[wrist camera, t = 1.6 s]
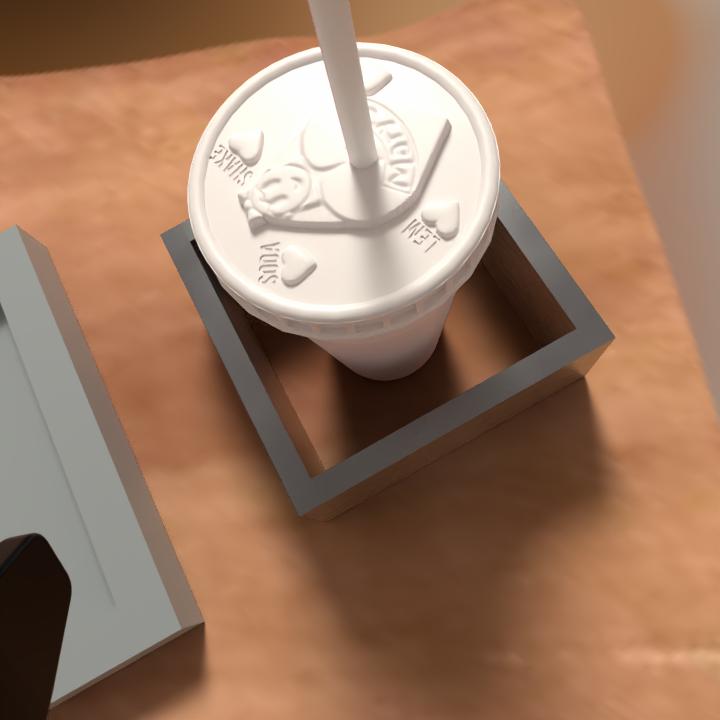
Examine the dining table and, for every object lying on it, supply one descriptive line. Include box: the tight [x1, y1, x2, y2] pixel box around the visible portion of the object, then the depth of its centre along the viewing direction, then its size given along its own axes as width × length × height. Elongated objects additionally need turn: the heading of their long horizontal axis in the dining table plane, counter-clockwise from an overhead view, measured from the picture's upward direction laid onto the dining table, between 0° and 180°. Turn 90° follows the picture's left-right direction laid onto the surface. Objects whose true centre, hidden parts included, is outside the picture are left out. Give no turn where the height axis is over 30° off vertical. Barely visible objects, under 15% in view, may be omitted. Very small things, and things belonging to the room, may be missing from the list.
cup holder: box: [160, 178, 615, 522], centre depth 20 cm, size 9×9×4 cm
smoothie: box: [187, 0, 500, 381], centre depth 15 cm, size 6×6×14 cm
